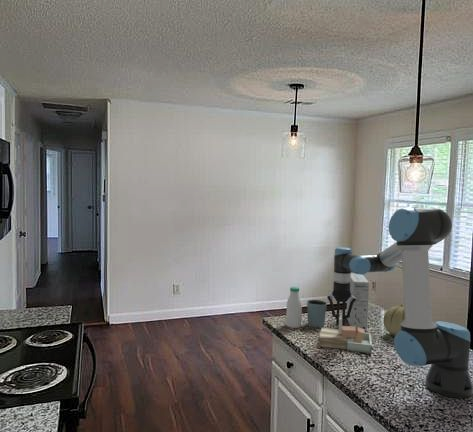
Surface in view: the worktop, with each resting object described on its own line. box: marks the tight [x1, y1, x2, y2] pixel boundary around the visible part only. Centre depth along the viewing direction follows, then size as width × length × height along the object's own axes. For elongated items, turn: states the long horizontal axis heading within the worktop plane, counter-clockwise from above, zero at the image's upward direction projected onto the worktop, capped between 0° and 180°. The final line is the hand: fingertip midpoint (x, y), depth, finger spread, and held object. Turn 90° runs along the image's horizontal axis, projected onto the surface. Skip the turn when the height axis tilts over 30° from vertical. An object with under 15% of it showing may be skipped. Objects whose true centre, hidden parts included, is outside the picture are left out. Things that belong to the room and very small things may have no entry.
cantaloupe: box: [382, 304, 405, 337], centre depth 202 cm, size 15×15×15 cm
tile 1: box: [342, 325, 356, 338], centre depth 190 cm, size 6×6×3 cm
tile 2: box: [354, 327, 366, 343], centre depth 189 cm, size 6×6×3 cm
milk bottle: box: [285, 286, 303, 329], centre depth 214 cm, size 8×8×20 cm
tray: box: [346, 332, 373, 354], centre depth 189 cm, size 16×10×4 cm, turn 164°
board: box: [318, 327, 348, 350], centre depth 192 cm, size 14×12×4 cm
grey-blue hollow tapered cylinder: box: [306, 299, 328, 328], centre depth 217 cm, size 10×10×12 cm
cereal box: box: [346, 272, 370, 332], centre depth 219 cm, size 22×8×25 cm, turn 172°
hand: (340, 332), depth 191 cm, fingers closed
